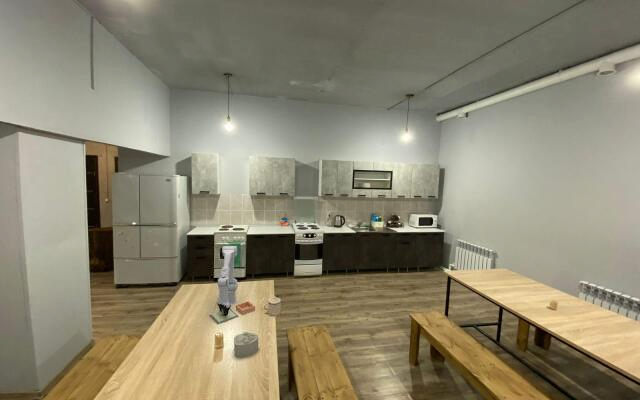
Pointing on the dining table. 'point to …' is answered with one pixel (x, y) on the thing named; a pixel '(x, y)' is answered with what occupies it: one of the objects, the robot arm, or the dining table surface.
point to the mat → (223, 321)
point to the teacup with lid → (273, 306)
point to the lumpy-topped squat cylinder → (245, 344)
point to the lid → (220, 316)
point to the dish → (245, 308)
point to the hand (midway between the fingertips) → (223, 313)
